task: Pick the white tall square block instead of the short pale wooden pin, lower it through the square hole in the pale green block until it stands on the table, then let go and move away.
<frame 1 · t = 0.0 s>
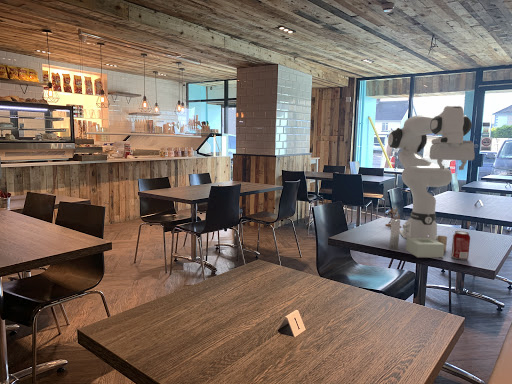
hand: (451, 169, 184), 39 cm above the table, tool pointing down, fingers open, 8 cm apart
white tall square block: (393, 248, 190), on the table
soda can: (459, 258, 176), on the table
short wooden pin: (441, 250, 188), on the table
hole block: (423, 253, 182), on the table
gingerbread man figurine: (393, 227, 239), on the table
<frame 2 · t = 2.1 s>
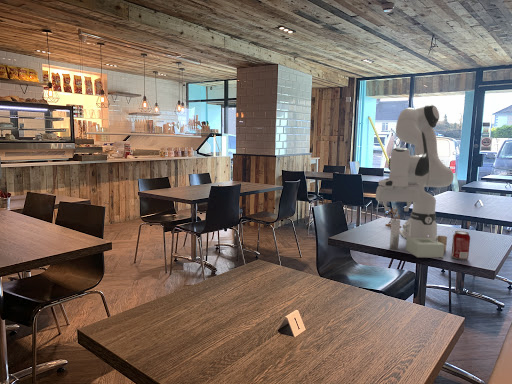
hand: (396, 211, 187), 18 cm above the table, tool pointing down, fingers open, 8 cm apart
nothing on the table moved.
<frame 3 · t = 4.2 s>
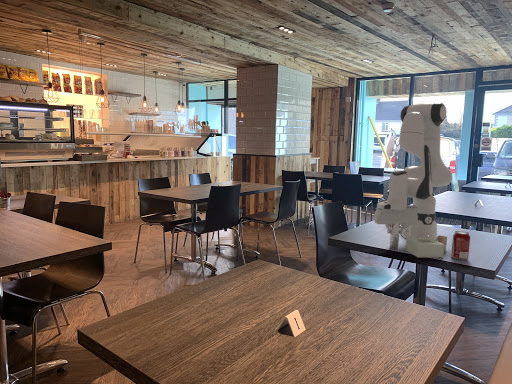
hand: (394, 233, 189), 8 cm above the table, tool pointing down, fingers closed on white tall square block, 4 cm apart
white tall square block: (393, 248, 190), on the table, touching gripper
everything else where it was.
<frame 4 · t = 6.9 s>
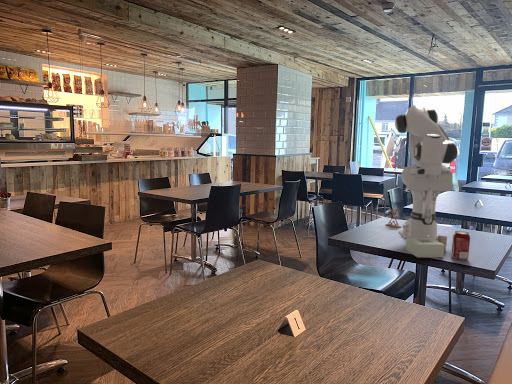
hand: (428, 200, 179), 25 cm above the table, tool pointing down, fingers closed on white tall square block, 4 cm apart
white tall square block: (426, 217, 180), point 17 cm above the table, touching gripper
everything else where it was.
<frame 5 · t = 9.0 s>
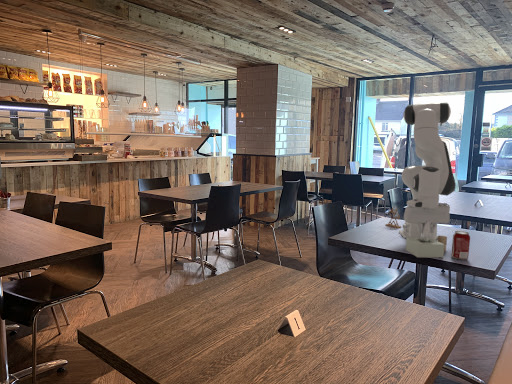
hand: (425, 232, 181), 10 cm above the table, tool pointing down, fingers closed on white tall square block, 4 cm apart
white tall square block: (424, 250, 182), point 2 cm above the table, touching gripper
everything else where it was.
when the fingers open (8 cm above the table, at t = 10.1 s): white tall square block stays where it is, resting in hole block.
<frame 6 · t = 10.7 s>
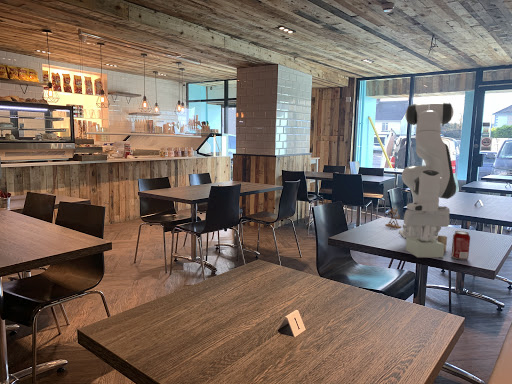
hand: (425, 235, 181), 8 cm above the table, tool pointing down, fingers open, 8 cm apart
white tall square block: (423, 253, 182), resting in hole block
everything else where it was.
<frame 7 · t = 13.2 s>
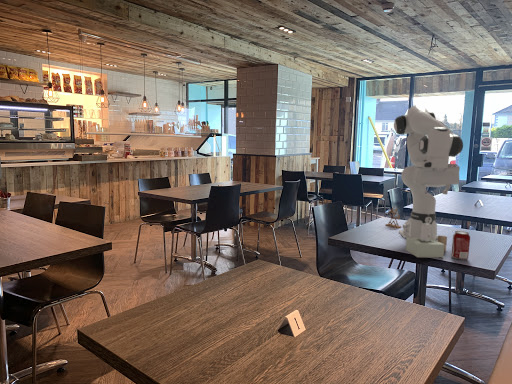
hand: (434, 193, 179), 28 cm above the table, tool pointing down, fingers open, 8 cm apart
nothing on the table moved.
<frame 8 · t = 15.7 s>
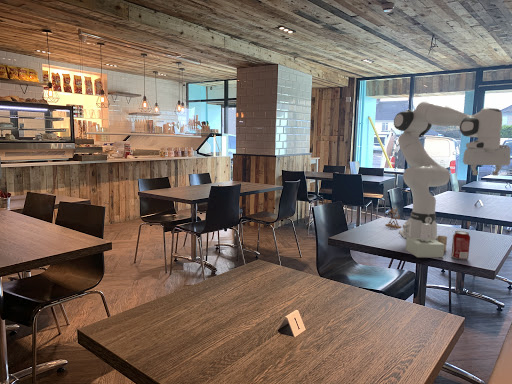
hand: (485, 175, 178), 37 cm above the table, tool pointing down, fingers open, 8 cm apart
nothing on the table moved.
at the end: white tall square block 0.0 cm off-centre on the hole block, point 0.0 cm above the hole block's base; white tall square block tilted 0°; the gripper is holding nothing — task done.
